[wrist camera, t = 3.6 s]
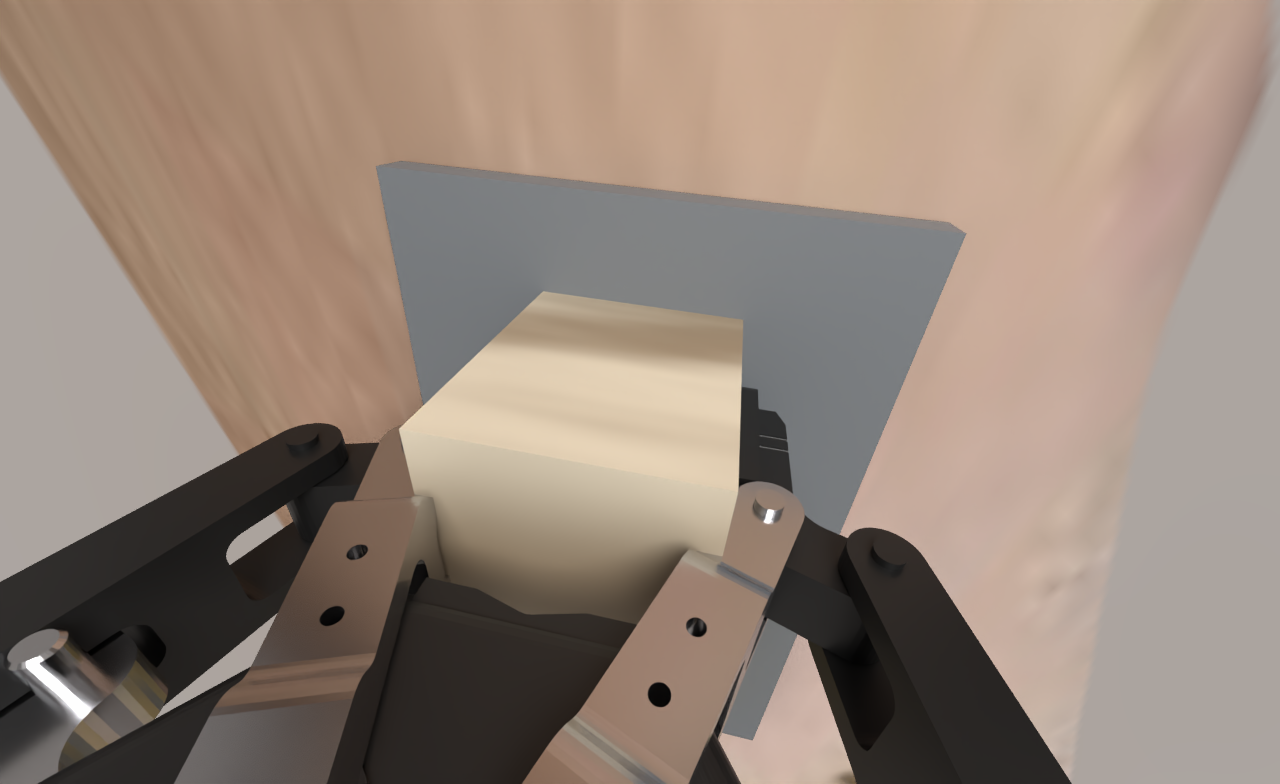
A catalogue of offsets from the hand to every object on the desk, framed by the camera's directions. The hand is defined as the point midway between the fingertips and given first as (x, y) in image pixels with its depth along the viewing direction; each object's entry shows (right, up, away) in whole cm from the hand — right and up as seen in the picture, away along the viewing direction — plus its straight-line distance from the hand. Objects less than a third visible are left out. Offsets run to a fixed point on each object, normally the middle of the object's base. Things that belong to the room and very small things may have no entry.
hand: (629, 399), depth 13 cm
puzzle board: (0, -4, +4) cm, 6 cm away
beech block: (0, 0, 0) cm, 0 cm away
